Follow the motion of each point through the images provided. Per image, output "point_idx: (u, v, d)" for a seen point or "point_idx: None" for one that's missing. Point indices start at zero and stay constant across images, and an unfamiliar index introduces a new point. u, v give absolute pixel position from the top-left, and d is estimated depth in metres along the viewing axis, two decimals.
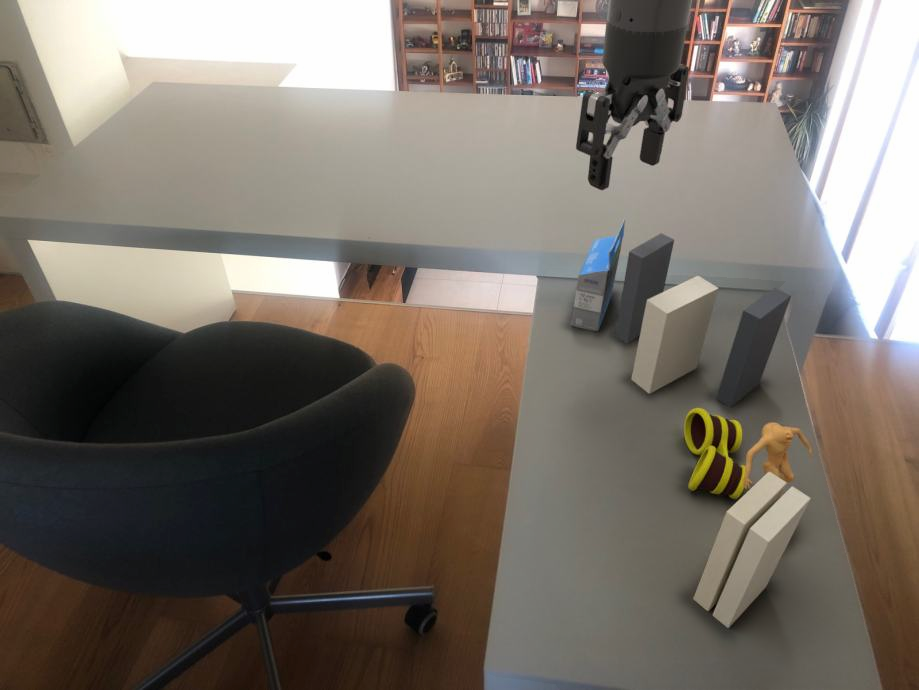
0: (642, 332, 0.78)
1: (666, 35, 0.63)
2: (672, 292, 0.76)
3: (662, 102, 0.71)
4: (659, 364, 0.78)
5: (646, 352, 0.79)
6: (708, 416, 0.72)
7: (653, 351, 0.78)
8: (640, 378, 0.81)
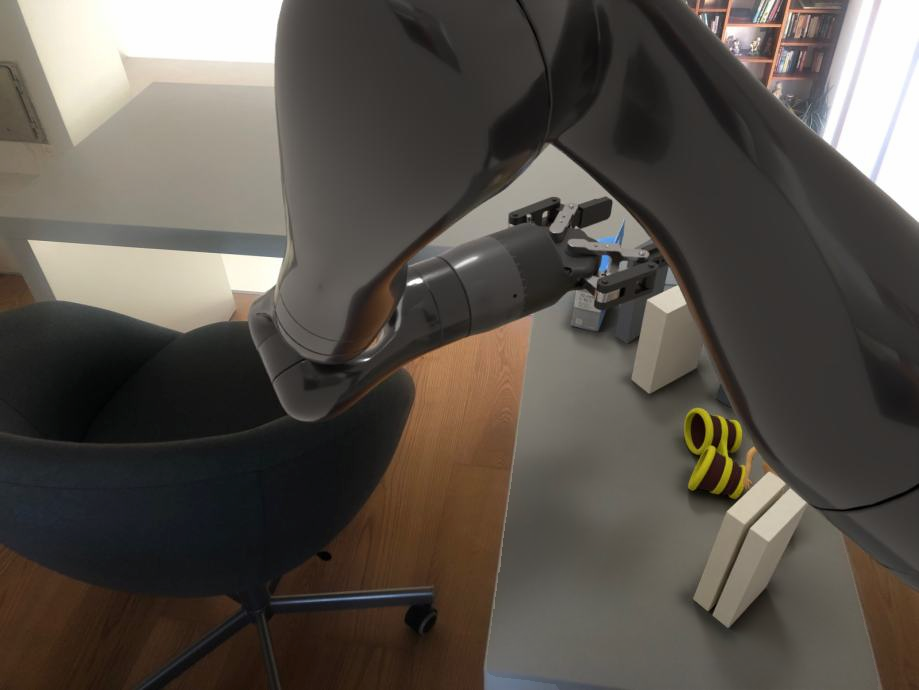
0: (642, 332, 0.78)
1: (513, 251, 0.55)
2: (672, 292, 0.76)
3: (559, 223, 0.61)
4: (659, 364, 0.78)
5: (646, 352, 0.79)
6: (708, 416, 0.72)
7: (653, 351, 0.78)
8: (640, 378, 0.81)
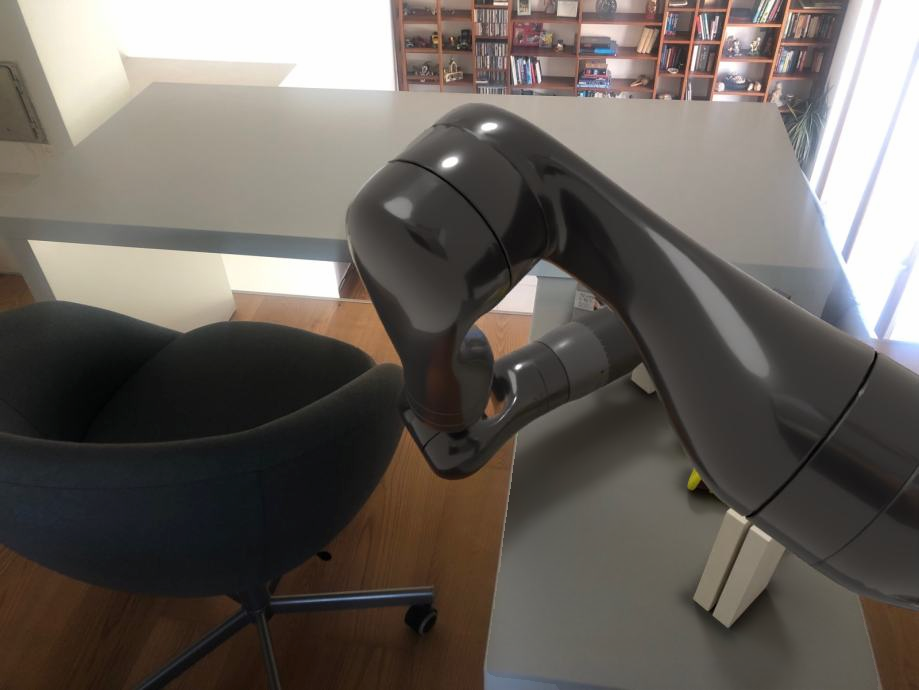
0: None
1: (599, 336, 0.68)
2: None
3: None
4: None
5: None
6: None
7: None
8: (640, 378, 0.81)
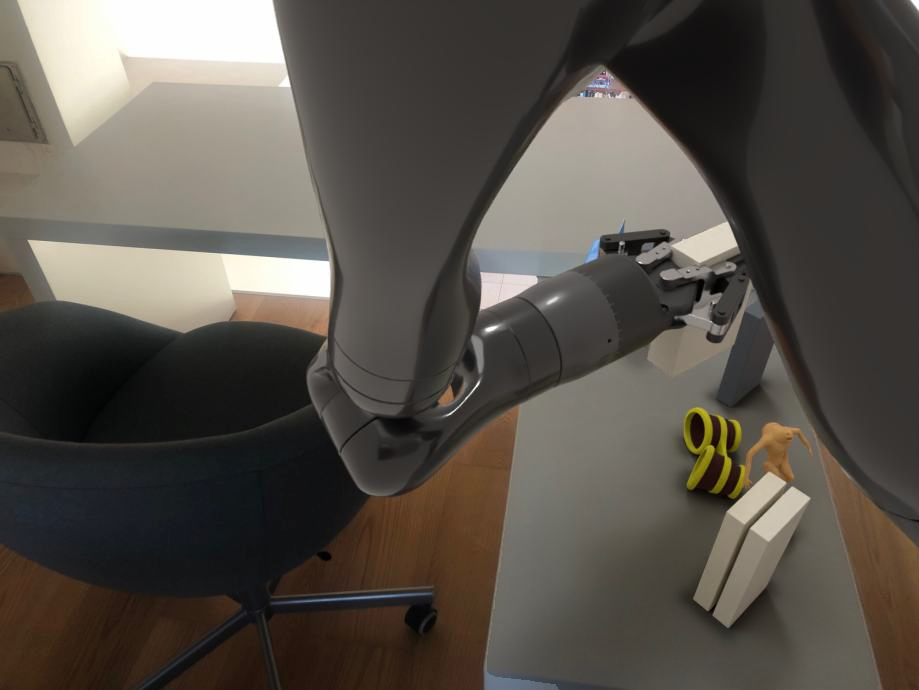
0: None
1: (605, 289, 0.48)
2: (705, 236, 0.55)
3: (653, 254, 0.54)
4: (686, 336, 0.58)
5: None
6: (707, 416, 0.72)
7: None
8: (659, 356, 0.60)
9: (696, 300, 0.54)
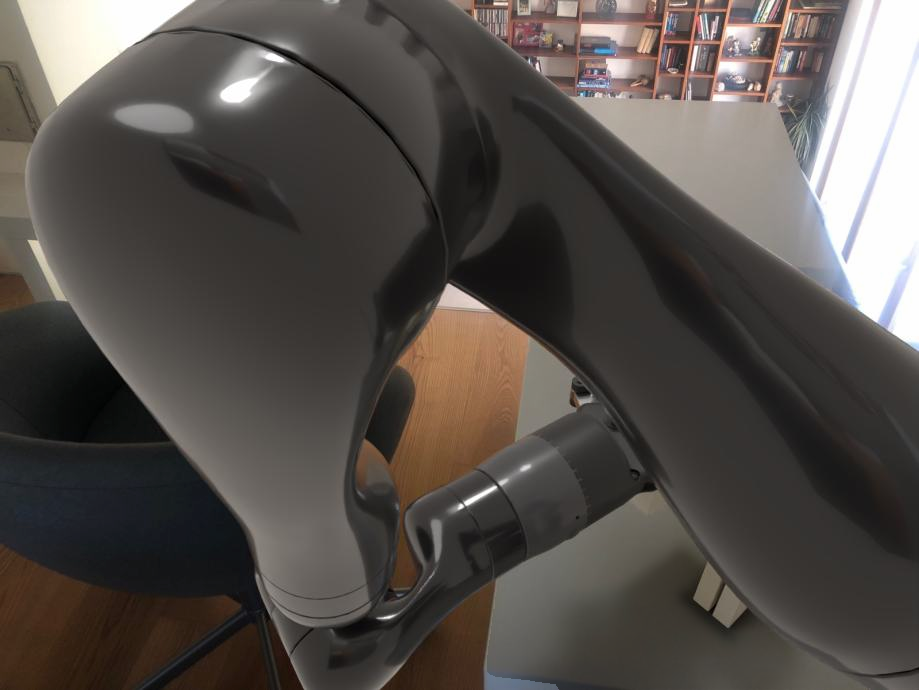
0: None
1: (573, 463, 0.46)
2: None
3: None
4: None
5: None
6: None
7: None
8: None
9: None
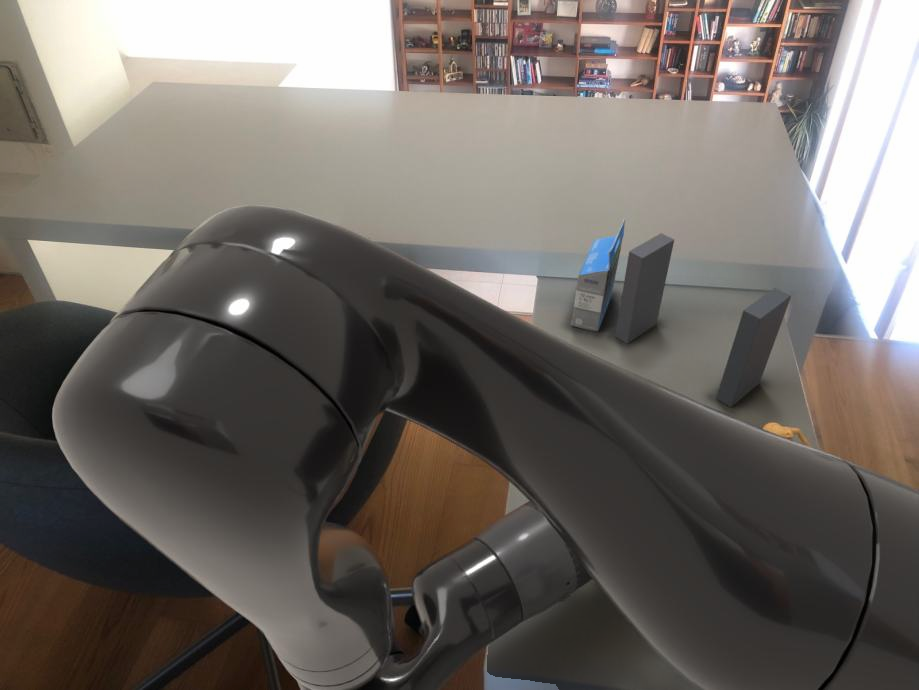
0: None
1: None
2: None
3: None
4: None
5: None
6: None
7: None
8: None
9: None
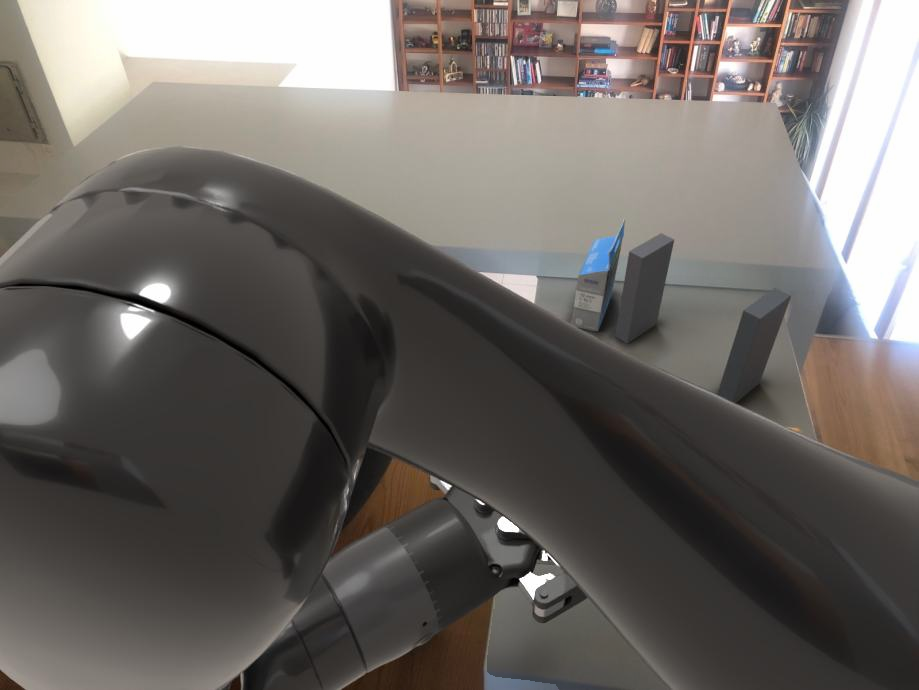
0: None
1: (421, 563, 0.42)
2: None
3: None
4: None
5: None
6: None
7: None
8: None
9: None
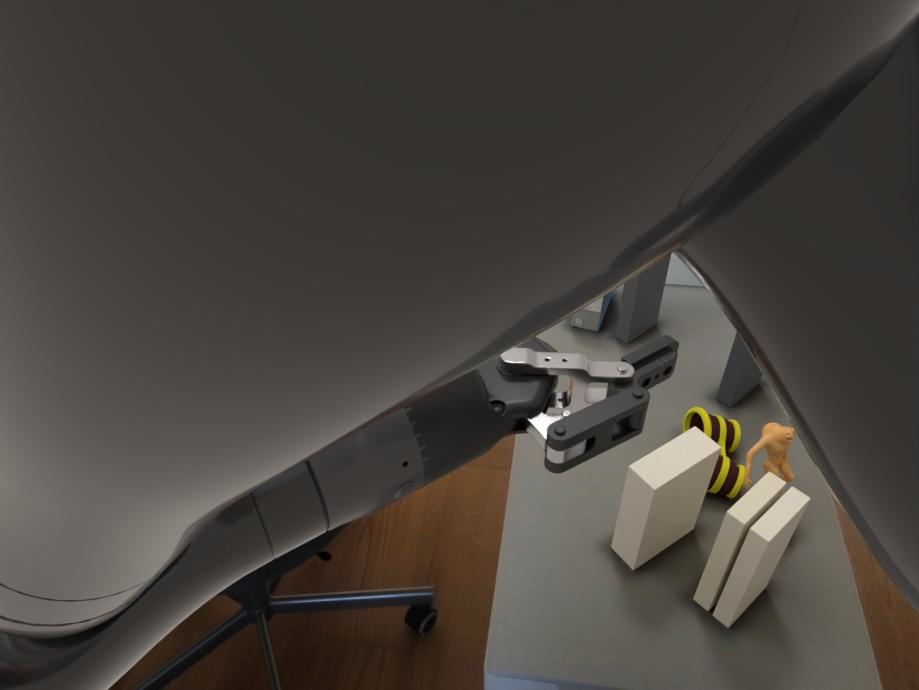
0: (623, 500, 0.61)
1: None
2: (662, 454, 0.59)
3: None
4: (645, 539, 0.61)
5: (629, 524, 0.61)
6: (706, 415, 0.72)
7: (637, 526, 0.60)
8: (621, 549, 0.64)
9: (566, 403, 0.37)
